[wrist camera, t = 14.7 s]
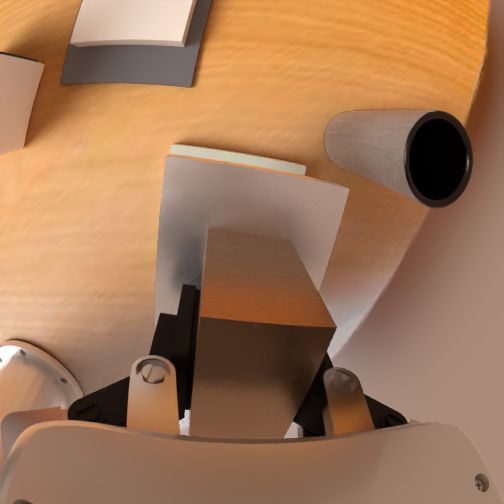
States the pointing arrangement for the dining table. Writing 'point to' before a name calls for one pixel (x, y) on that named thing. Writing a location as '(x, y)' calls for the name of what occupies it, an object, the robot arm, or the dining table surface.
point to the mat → (138, 59)
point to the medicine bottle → (16, 98)
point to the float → (248, 287)
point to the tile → (133, 22)
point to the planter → (404, 152)
